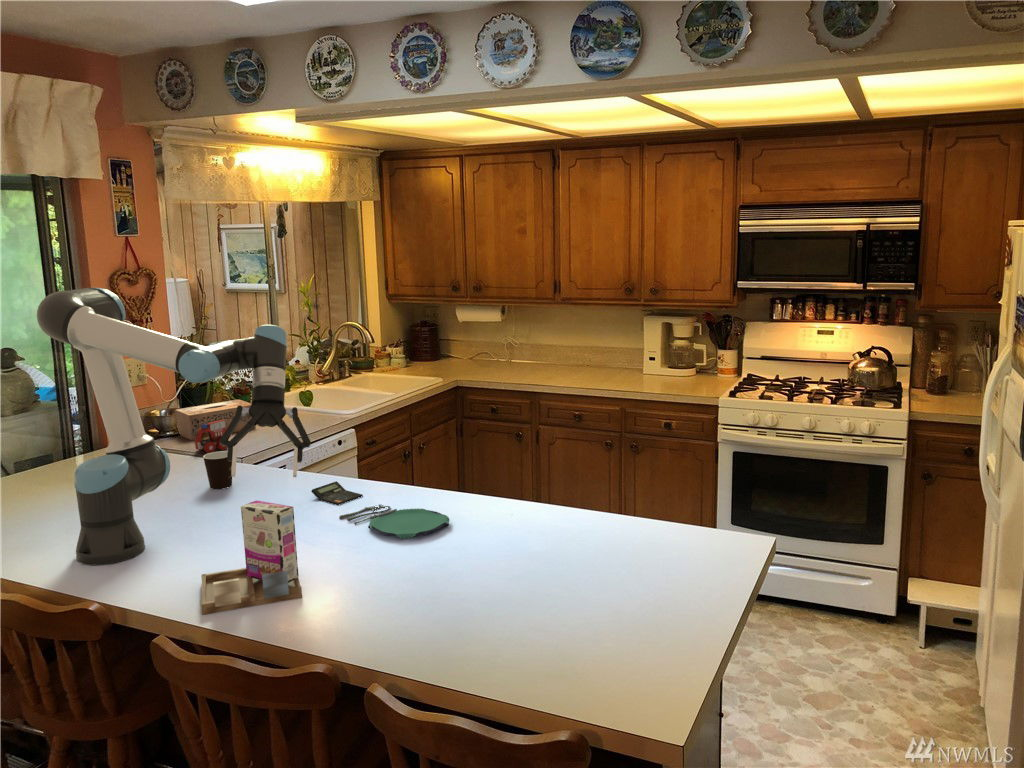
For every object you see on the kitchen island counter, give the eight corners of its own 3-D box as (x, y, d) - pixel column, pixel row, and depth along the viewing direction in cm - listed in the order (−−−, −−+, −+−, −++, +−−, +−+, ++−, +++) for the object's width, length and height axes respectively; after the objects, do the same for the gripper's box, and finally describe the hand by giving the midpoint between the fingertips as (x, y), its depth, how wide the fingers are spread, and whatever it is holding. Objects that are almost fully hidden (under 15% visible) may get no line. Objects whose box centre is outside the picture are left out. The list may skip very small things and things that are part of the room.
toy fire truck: (191, 452, 288) (188, 424, 286) (222, 444, 298) (220, 417, 296) (201, 455, 284) (198, 426, 282) (233, 447, 293) (230, 420, 291)
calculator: (338, 506, 228) (337, 496, 228) (311, 498, 235) (311, 489, 234) (362, 497, 235) (362, 487, 235) (336, 490, 242) (335, 480, 242)
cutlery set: (405, 548, 196) (404, 539, 196) (332, 523, 216) (331, 514, 216) (462, 526, 211) (462, 517, 210) (389, 504, 231) (389, 496, 230)
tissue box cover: (240, 423, 333) (238, 399, 331) (255, 428, 322) (253, 404, 320) (177, 434, 316) (175, 409, 314) (191, 440, 305) (188, 415, 303)
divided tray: (202, 614, 164) (199, 586, 162) (202, 583, 178) (199, 557, 177) (302, 597, 170) (300, 570, 169) (294, 568, 185) (292, 543, 184)
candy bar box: (300, 577, 175) (294, 505, 172) (284, 586, 171) (278, 513, 168) (262, 568, 180) (256, 498, 177) (245, 577, 176) (239, 505, 173)
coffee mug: (226, 491, 243) (223, 459, 241) (200, 490, 245) (197, 458, 243) (246, 479, 254) (243, 449, 252) (221, 478, 256) (218, 448, 254)
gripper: (212, 381, 185) (205, 471, 178) (323, 385, 192) (320, 472, 185) (214, 391, 192) (208, 478, 185) (321, 395, 199) (318, 479, 192)
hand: (264, 475), depth 185 cm, fingers open, 13 cm apart
